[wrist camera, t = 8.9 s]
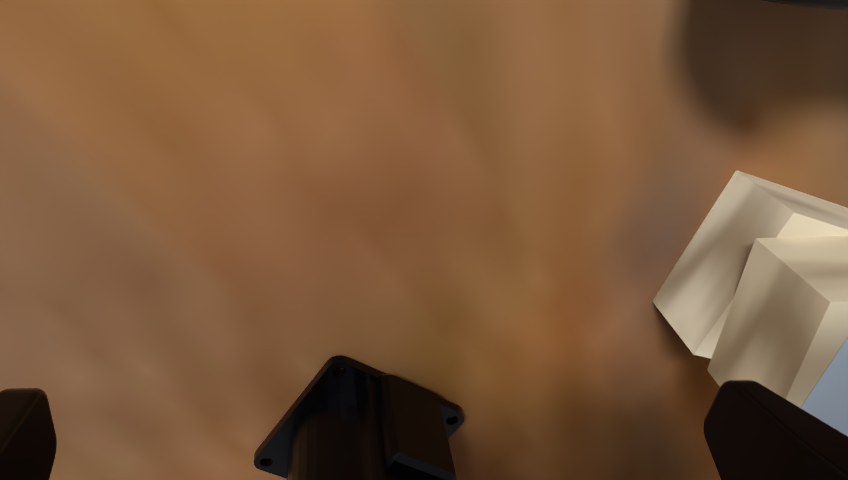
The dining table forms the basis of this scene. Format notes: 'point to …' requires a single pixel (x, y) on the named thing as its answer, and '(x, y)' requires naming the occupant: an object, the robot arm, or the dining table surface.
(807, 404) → the blue block
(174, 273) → the dining table surface
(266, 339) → the dining table surface
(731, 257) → the tower base
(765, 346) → the tower top
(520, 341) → the dining table surface
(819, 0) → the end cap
